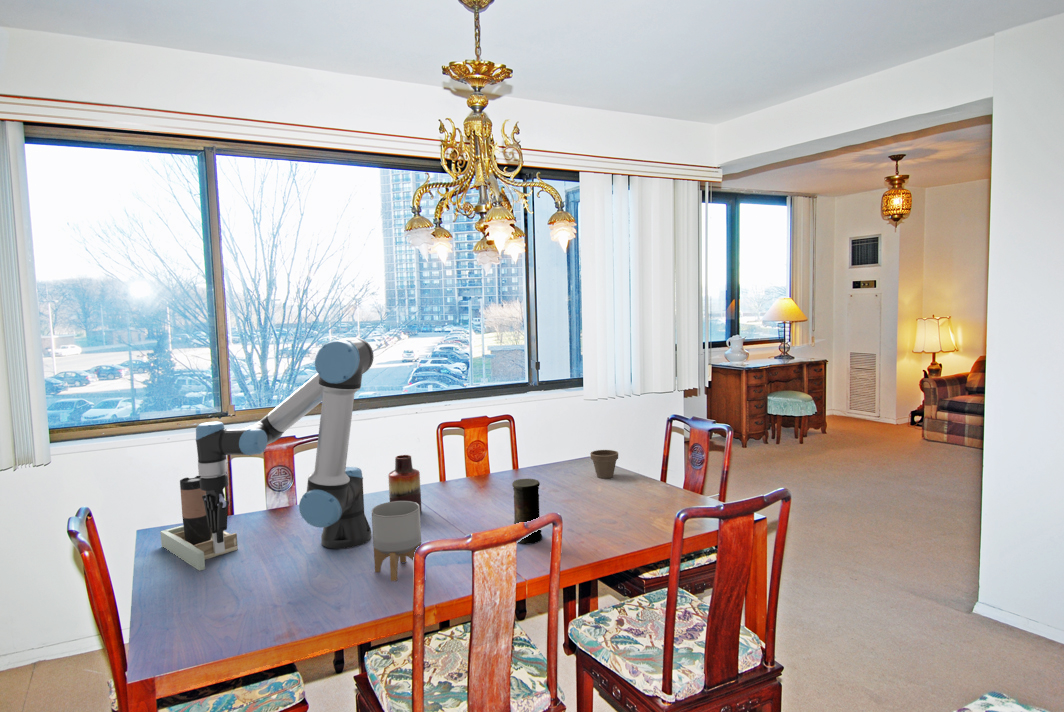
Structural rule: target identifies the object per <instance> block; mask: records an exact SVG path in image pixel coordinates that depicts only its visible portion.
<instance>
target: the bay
mask: <svg viewBox="0 0 1064 712" xmlns="http://www.w3.org/2000/svg"><path fill="white" fill-rule="evenodd" d="M181 531H184V526H183V524H182V525H180V526H175V527H172V528H168V529H167V528H166V529H164V530H161V531H159V532H160V533H159V534H160V543H161V545H160V546H161V548H163V547H164V548H166V549H167V550H166V549H165V550H166V551H168V550H169V551H170V552H169V551H168V552H169V553H171V552H172V553H173V555H174V554H175V555H176V556H175V555H174V556H175V557H177V556H178V557H177V558H179V559H180V558H181V559H180V560H182V561H183V560H184V562H185V563H187V564H189V565H190V566H191V567H193V568H194V569H197V570H198V571H199V572H201V571H203V570H206V564H205V563H206V561H205V560H206V559H205V560H204V552H203V551H201V550H199V549H198V548H196V547H194V546H193V545H191V544H189V543H187V542H186V541H184V540H182V539H180V538H179V537H177V536H175V535H173V533H177V532H181ZM164 548H163V549H164ZM172 553H171V554H172Z"/></svg>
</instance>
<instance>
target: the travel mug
mask: <svg viewBox="0 0 1064 712" xmlns="http://www.w3.org/2000/svg"><path fill="white" fill-rule="evenodd" d="M200 477H201V476H199V475H196V476H195V477H192V478H189V477H184V478H182V479H180V480H179V488H180V502H181V515H182V523H183V524H182V525H183V526H184V534H185V541H187V542H189V543H191V544H192V545H195V544H199V543H202V542H206V541H209V540H211V528H209V527H208V522H207V517H206V511H205V505H204V501H203V498H202V496H203V495H206V491H203V490H201V489H200V482H199V478H200Z"/></svg>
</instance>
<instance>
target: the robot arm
mask: <svg viewBox="0 0 1064 712" xmlns="http://www.w3.org/2000/svg"><path fill="white" fill-rule="evenodd" d="M374 360H375V359H374V351H373V348H372V347H371V345H370V344H369V343H368V341H366V340H365V339H363V338H360V337H356V336H352V337H351V336H350V337H349V336H348V337H346V338H336V339H333V340H330V341H328V342H326V343H325V344H324V345H322V346H321V347H320V348H319V349H318V351H317V353H316V355H315V358H314V367H315V371H316V374H314V375H313V376H312V377H311V378H310V379H309V380H307V381H306V382H305V383H304V384H302V385H301V386H300V387H299V388H297V389H296V390H295V391H294V392H293V393H291V394H290V395H289V396H288V397H286V398H285V399H284V400H283V401H282V402H281V403H280V404H278V405H277V406H275V408H273V409H272V410H271V411H270V412H268V414H266V415H265V416H264V417H262V418H261V419H260V420H259V421H257V422H255V423H253V424H250V425H248V426H246V427H243V428H230V429H229V428H225V424H224V423H223V422H222V421H208V422H202V423H199V424H198V425H196V427H195V442H196V444H195V445H196V452H197V469H198V476H201V477H200V478H199V482H200V489H201V490H203V491H206V495H203V496H202V498H203V501H204V505H205V511H206V517H207V522H208V527H209V528H211V531H212V536H213V549H214V554H218V553H222V552H225V545H224V532H223V531H227V529H228V515H229V514H228V513H229V512H228V510H229V504H230V501H229V500H228V499H227V500H226V499H225V498H226V497H225V493H224V489H225V488H227V487H228V486H229V476H228V474H227V472H228V468H227V467H228V466H227V464H228V463H229V461H228V460H227V456H253V455H261V454H263V453H264V452H265V450H266V449H267V446H268V445H269V444H273V443H275V442H276V441H277V440H279V439H280V438H282V436H283V434H284V433H285V432H287V430H289V429H290V428H292V426H294V425H295V424H297V422H298V421H300V420H301V419H302V418H303V417H304V416H306V415H307V414H308V413H309V412H310V413H311V411H312V410H313V409H314V408H316V407H317V406H318V405H319V404H320V403H321V410H320V419H319V425H318V426H319V428H318V436H317V437H318V438H317V445H316V455H315V463H314V471H313V472H311V473H310V474H309V475H308V477H307V485H306V492H305V493H303V494H302V497H301V498H300V500H299V503H298V510H299V513H300V515H301V517H302V519H304V521H305V522H306V523H307V524H308V525H310V526H312V527H315V528H319V529H321V528H322V531H321V532H322V533H321V536H320V539H321V542H320V543H321V546H323V547H324V548H327V549H334V550H335V549H336V550H341V549H342V550H344V549H351V548H356V547H359V546H361V545H364V544H366V543H368V542H369V541H370V540H371V539H372V529H371V527H370V524H369V521H368V519H367V516H366V514H365V500H364V499H365V497H364V483H363V482H364V477H363V472H362V469H361V468H360V467H357V466H347V461H348V453H349V452H348V451H349V445H350V444H349V443H350V442H349V441H350V436H351V434H350V433H351V426H352V416H353V411H354V410H353V407H354V400H355V394H356V392H358V391H359V390H360V389H361V387H362V379H363V374H365V373H366V372H367V371H369V370H370V368H371V367H372V365H373V362H374Z"/></svg>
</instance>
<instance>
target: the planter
mask: <svg viewBox="0 0 1064 712" xmlns="http://www.w3.org/2000/svg"><path fill="white" fill-rule="evenodd" d="M371 524H372V526H371V527H372V529H371V530H372V543H373V545H372V546H373V560H374V573H380V572H381V571H382V564H383V562H384V561H385V560H386V559H387V558H389V567H390V568H389V571H390V582H397V580H398V568H399V567H398V566H399V563H400V562H407V558H408V559H410V560H411V561H413V557H414V552H415V550H416V548H417V547H418V546H420V545H421V544H422V529H421V528H422V527H421V514H420V506H419V504H417V503H415V502H411V501H393V502H390V501H387V502H384V503H380V504H378V505H376V506H374V507H373V508H372V509H371Z"/></svg>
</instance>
